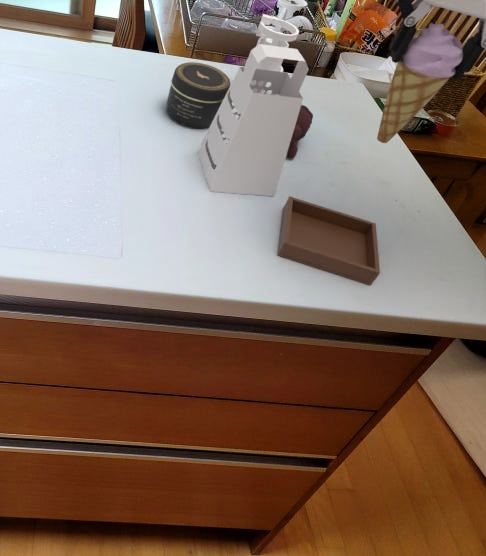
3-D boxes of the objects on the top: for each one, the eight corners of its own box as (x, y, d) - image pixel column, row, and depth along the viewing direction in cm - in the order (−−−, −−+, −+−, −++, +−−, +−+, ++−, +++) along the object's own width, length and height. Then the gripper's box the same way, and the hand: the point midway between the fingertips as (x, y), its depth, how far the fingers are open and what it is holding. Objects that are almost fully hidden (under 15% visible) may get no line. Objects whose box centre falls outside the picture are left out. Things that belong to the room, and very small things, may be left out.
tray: (367, 235, 83) (375, 223, 81) (370, 285, 75) (380, 273, 73) (282, 208, 84) (289, 196, 82) (277, 255, 76) (284, 242, 74)
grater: (197, 151, 91) (236, 30, 76) (256, 157, 93) (305, 40, 78) (210, 191, 84) (256, 66, 69) (274, 196, 86) (331, 76, 71)
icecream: (270, 80, 99) (272, 129, 90) (313, 80, 98) (319, 129, 88) (266, 114, 104) (267, 163, 95) (306, 114, 103) (312, 164, 94)
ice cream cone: (347, 126, 73) (407, 10, 62) (381, 122, 75) (445, 9, 64) (380, 155, 69) (451, 36, 58) (416, 150, 71) (490, 35, 60)
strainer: (237, 84, 110) (264, 7, 99) (271, 94, 110) (302, 18, 99) (233, 100, 105) (261, 21, 95) (269, 110, 105) (301, 32, 94)
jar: (210, 137, 95) (224, 97, 89) (156, 117, 96) (167, 77, 90) (223, 112, 101) (237, 73, 96) (173, 94, 103) (184, 55, 97)
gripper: (611, -98, 54) (491, 74, 67) (435, -143, 55) (351, 34, 68) (639, -82, 49) (504, 101, 61) (445, -131, 50) (352, 58, 63)
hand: (424, 65), depth 65 cm, fingers closed on ice cream cone, 6 cm apart
